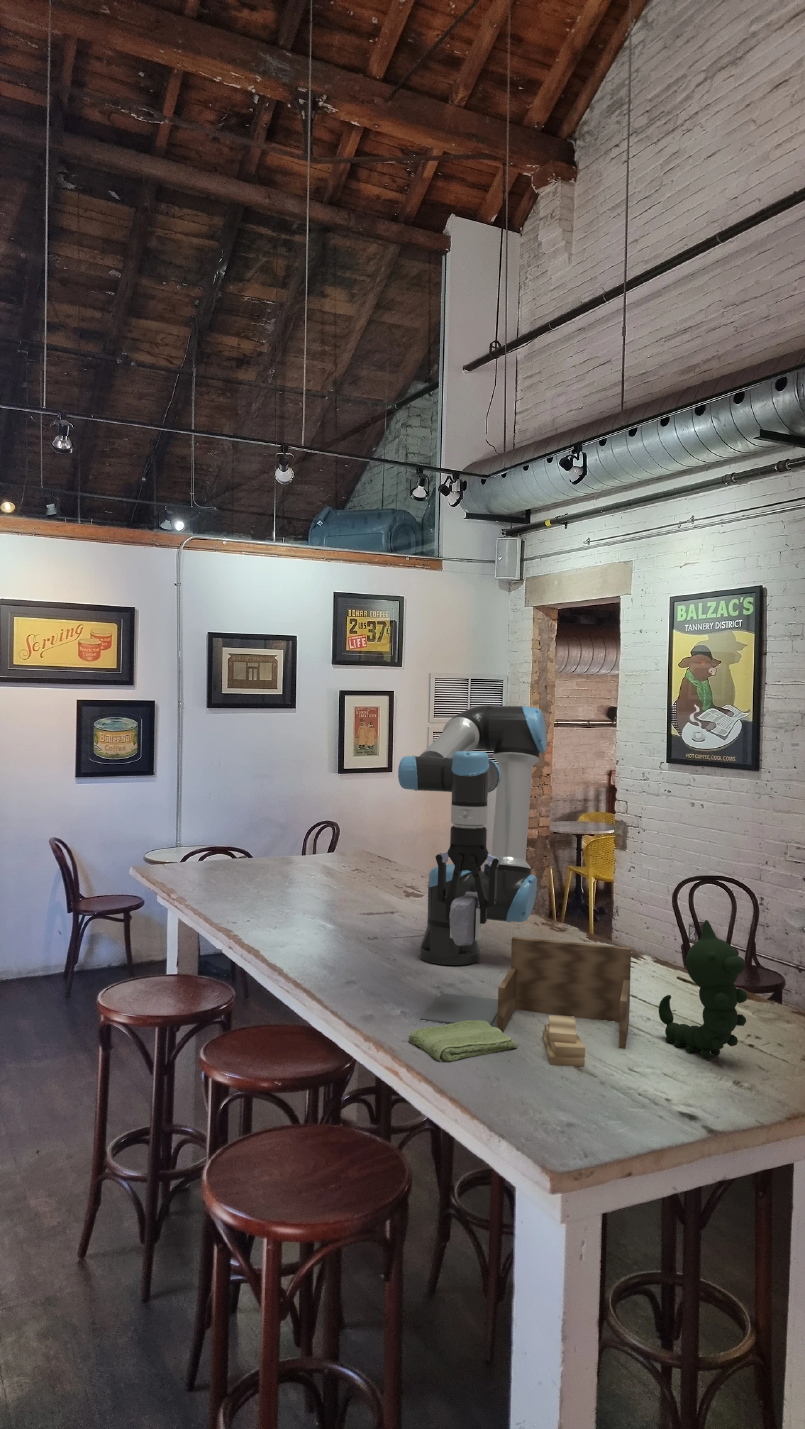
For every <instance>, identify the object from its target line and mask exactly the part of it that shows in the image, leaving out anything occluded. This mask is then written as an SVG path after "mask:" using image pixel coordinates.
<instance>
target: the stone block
mask: <svg viewBox="0 0 805 1429" xmlns="http://www.w3.org/2000/svg"><path fill="white" fill-rule="evenodd" d="M478 906H480V905H479V900H478V895H477V892H466V893H465V895H464V896H461V897H458V898H456V899H454V900H453V901H452V904H451V908H450V915H449V918H450V928H451V933H452V938H453V941H454V943H455V944H456V945H458V946H463V945H467V946H469V945H472V943H473V941H474V940H475V931H476V908H477V907H478Z"/></svg>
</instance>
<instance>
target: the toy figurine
mask: <svg viewBox="0 0 805 1429" xmlns="http://www.w3.org/2000/svg"><path fill="white" fill-rule="evenodd" d="M739 954H740V953H739V950H738V949H737V948H734V947H733V946H732V945H730V944H729V943H728V942H726V941H724V940H722V939H721V938H718V937H717V935H716V933H715V932H714V929H713V928H712V925H711V924H710V922H709V920H707V919H705V920H704V923H703V926H702V931H701V935H700V938H699V940H697V941H695V942H694V944H692V946H690V948H689V950H688V952H687V954H686V958H685V965H686V970H687V971H686V972H687V973H688V976H689V977H690V979H691V980H692V982H693V983H694V984H695V985H697V986H698V987H699V991H698V992H699V993H698V995H699V997H698V998H699V1000H700V1003H701V1005H702V1006H703V1009H702V1021H703V1023H702V1025H700V1026H698V1025H688V1024H687V1023H681V1024H679V1023H677V1022H674V1020H675V1019H674V1014H673V1011H672V1009H671V999H672V996H671V994H667V995H664V997H662V999H661V1000H660V1002H659V1005H658V1015H659V1016H658V1017H659V1019H660V1021H661V1022H662V1023H663V1024H664V1025H666V1027H665V1030H664V1032H665V1036H666V1037H665V1041H666V1043H673V1044H674V1046H675V1047H676V1048H681V1047H682V1046H686V1047H685V1050H686V1052H687V1053H693V1052H694V1050H700V1051H699V1054H700V1056H701V1057H702V1058H703V1059H708V1058H709V1057H710V1056H711V1055H712V1056H716V1057H717V1056H719V1055H720V1053H721V1050H722V1049H723V1048H724V1045H728V1046H730V1047H735V1046H737V1045H738V1042H739V1040H738V1037H737V1036H736V1035H735V1034H732V1032H733V1031H734V1030H735V1029H736V1028H737V1026H738V1027H739V1026H740V1027H744V1026H745V1025H746V1023H747V1018H746V1017H745V1016H744V1015H743V1014H738V1011H737V1009H736V1007H737V1004H742V1003H745V1002H746V1001H747V1000H748V994H747V991H746V990H744V989H743V988H741V987H740V988H737V986H736V985H735V982H736V981H737V979H738V978H739V976H740V974H743V972H744V971H745V970H746V966H747V964H746V961H745V958H743V957H741V956H739Z"/></svg>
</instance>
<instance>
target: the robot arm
mask: <svg viewBox="0 0 805 1429" xmlns="http://www.w3.org/2000/svg"><path fill="white" fill-rule="evenodd" d="M545 721H546V720H545V718H544V714H543V712H542V710H541V709H540V708H538V707H535V706H525V705H518V706H517V705H513V706H511V705H479V706H474V707H470V708H468V709H465V710H463V711H462V712H459V713H457V714H456V715H454V716H453V717H452V718H450V719H449V720H448V721H447V722H446V723H445V725H444V727H443V729H442V733H441V734H440V735H439V736H438V737H437V738H436V739H435V740H434V741H432V742H431V744H429V746H428V747H427V748H426V749H425V750H424V751H423V752H422V753H421V754H420V755H419V756H416V755H411V756H409V755H408V756H407V755H406V756H403V757H402V758H400V759H401V760H400V761H399V764H398V771H397V777H398V783H399V785H400V787H401V788H402V789H404V790H413V791H416V792H417V791H422V792H424V791H425V792H442V793H443V792H444V793H445V792H447V793H451V803H450V804H451V805H450V823H451V824H452V826H451V827H450V837H449V839H450V841H449V848H448V850H447V852H440V853H437V854H436V855H435V861H436V864H437V866H434V867H433V868H432V869H431V870H430V871H429V875H428V883H427V884H428V885H427V924H426V929H425V931H424V934H423V937H422V940H421V943H420V946H419V958H420V957H421V958H420V959H421V960H423V961H425V962H429V963H431V964H437V965H444V966H464V965H470V964H474V963H477V962H478V961H479V960H480V959H481V950H480V949H481V948H480V945H479V941H480V940H481V939H482V934H483V933H482V929H483V928H482V926H483V925H485V924H486V923H487V922H488V921H487V920H490V921H500V922H507V923H511V922H512V923H513V922H514V923H523V922H527V921H528V920H529V918H530V917H531V915H532V912H533V909H534V905H535V902H536V896H537V892H538V891H537V890H538V888H537V887H538V886H537V885H538V877H537V876H536V875H534V874H532V868H531V866H530V865H529V863H528V862H527V860H526V859H527V845H528V832H529V821H530V820H529V817H530V802H531V791H532V778H533V776H532V775H533V766H535V764H536V763H538V762H539V760H540V754H544V753H546V751H547V744H548V740H547V729H546V722H545ZM485 751H491V752H492V751H493V754H492V755H493V756H492V757H493V759H494V760H495V761H496V762H495V761H494V760H492V759H489V754H488V753H487V752H485ZM495 789H496V793H495V804H494V815H493V817H494V818H493V829H492V842H491V852H490V853H491V854H489V851H488V848H487V839H488V838H487V836H488V833H487V832H488V831H487V830H488V829H487V828H486V825H487V824H488V798H489V797H488V794H489V793H491V792H493V791H495ZM449 859H450V860H451V862H452V863H450V864H449V863H448V862H449ZM483 864H484V866H483ZM482 866H483V870H482ZM466 892H477V895H478V900H479V905H480V906H478V907H477V908H476V931H475V940H474V941H473V943H472V945H469V946H467V945H463V946H458V945H456V944H455V943H454V941H453V938H452V933H451V928H450V918H449V915H450V908H451V904H452V901H453V900H454V899H456V898H458V897H461V896H464V895H465V893H466Z"/></svg>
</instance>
